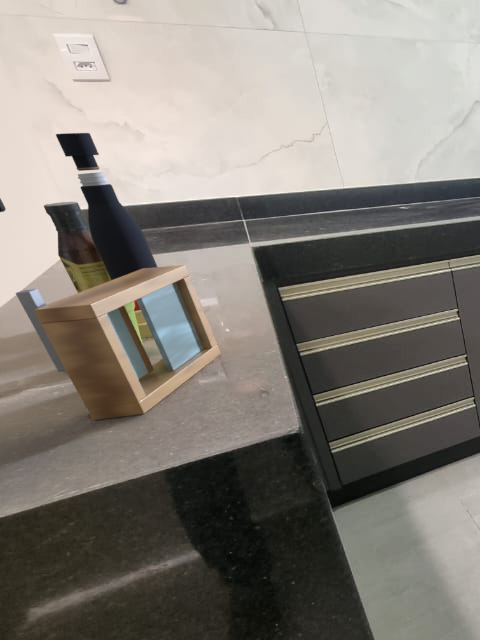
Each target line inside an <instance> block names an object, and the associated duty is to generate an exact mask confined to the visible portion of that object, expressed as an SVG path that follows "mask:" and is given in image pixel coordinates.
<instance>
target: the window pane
mask: <svg viewBox="0 0 480 640" xmlns="http://www.w3.org/2000/svg"><path fill="white" fill-rule="evenodd" d="M15 295H16V297H17V299H18V301H19V302H20V304H21V306H22V308H23V310H24V312H25V314H26V315H27V317H28V319H29V321H30V323H31V324H32V326H33V328H34V330H35V332H36V334H37V335H38V337H39V339H40V341H41V343H42V344H43V346H44V348H45V350H46V352H47V353H48V355H49V357H50V359H51V361H52V363H53V365H54V366H55V368H56V370H57V371H58V372H59V373H62V372H67V371H66V370H65V368H64V366H63V364H62V362H61V360H60V359H59V357H58V355H57V353H56V351H55V349H54V347H53V346H52V344H51V342H50V340H49V338H48V336H47V335H46V333H45V331H44V329H43V327H42V325H41V324H42V323H40V322H39V320H38V318H37V316H36V314H35V312H34V310H35V309H37V308H40V307H43V306H45V305H47V304H46V302H45V300H44V298H43V297H42V294H41V292H40V290H39V288H32V289H31V288H30V289H23V290H20V291H18V292H15ZM107 316H108V318H109V320H110V322H111V324H112V326H113V329H114V331H115V333H116V335H117V337H118V339H119V341H120V343H121V345H122V347H123V349H124V351H125V353H126V355H127V357H128V360H129V362H130V364H131V366H132V368H133V370H134V372H135V374H136V376H137V378H138V380H139V379H140V378H141V377H143V376H144V375H146V374H147V373H151V372H152V371H153V370H154V369H153V367H152V366H153V364H152V362H151V360H150V358H149V356H148V354H147V352H146V349H145V347H144V344H143V345H142V343H143V342H142V343H141V341H140V339H139V337H138V334H137V332H136V330H135V328H134V326H133V324H132V322H131V319H130V317H129V315H128V313H127V311H126V309H125V307H124V306H122V307H120V308H117V309H115V310H113V311H111V312H109V313H107Z"/></svg>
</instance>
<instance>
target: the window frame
mask: <svg viewBox="0 0 480 640" xmlns="http://www.w3.org/2000/svg"><path fill="white" fill-rule="evenodd" d="M135 300H137V303H138V305H139V307H140V309H141V311H142V314H143V316H144V318H145V320H146V322H147V325H148V327H149V329H150V331H151V333H152V336H153V337H152V338H153V340H154V342H155V344H156V346H157V347H156V348H157V349H158V351H159V354H160V356H161V358H162V359H160V360H159V361H157V362H156V363H154V364H152V367H153V369H154V370H153V371H152V372H151V373H147V374H146V375H144V376H143V377H141V378H140V379H139V380H138V378H137V376H136V374H135V372H134V370H133V368H132V366H131V364H130V362H129V360H128V357H127V355H126V353H125V351H124V349H123V347H122V345H121V343H120V341H119V339H118V337H117V335H116V333H115V331H114V329H113V326H112V324H111V322H110V320H109V318H108V316H107V313H109V312H111V311H113V310H115V309H117V308H120V307H122V306H124V305H126V304H128V303H131V302H133V301H135ZM34 312H35V314H36V316H37V318H38V320H39V322H40V323H42V324H41V325H42V327H43V329H44V331H45V333H46V335H47V336H48V338H49V340H50V342H51V344H52V346H53V347H54V349H55V351H56V353H57V355H58V357H59V359H60V360H61V362H62V364H63V366H64V368H65V370H66V371H65V372H66V373H67V375H68V377H69V379H70V381H71V383H72V385H73V386H74V388H75V390H76V392H77V393H78V395H79V397H80V400H81V401H82V403H83V404H84V406H85V409H86V410H87V412H88V414H89V417H90V418H91V419H92V421H98V420H107V419H113V418H114V419H115V418H122V417H131V416H137V415H138V416H139V415H144V414H146V413H147V412H148V411H150V410H151V409H153V408H154V407H155V406H156V405H157V404H159V403H160V402H161V401H162V400H164V399H165V398H166V397H167V396H169V395H170V394H171V393H173V392H174V391H175V390H177V389H178V388H180V386H182V385H183V384H184V383H186V382H187V381H188V380H189V379H191V378H192V377H193V376H195V375H196V374H197V373H198V372H200V371H201V370H202V369H204V368H205V367H206V366H207V365H209V364H210V363H211V362H212V361H214V360H215V359H216V358H218V357H219V356H220V355H221V354H222V352H221V350H220V348H219V347H220V346H218V343H217V340H216V338H215V335H214V332H213V330H212V328H211V325H210V323H209V320H208V318H207V315H206V313H205V310H204V308H203V305H202V303H201V300H200V298H199V296H198V293H197V290H196V288H195V286H194V283H193V281H192V278H191V276H190V273H189V271H188V268H187V266H186V265H185V264H179V265H171V266H170V265H168V266H167V265H166V266H157V267H155V268H143V269H140V270H138V271H135V272H132V273H130V274H127V275H124V276H122V277H119V278H117V279H114V280H111V281H109V282H106V283H103V284H101V285H98V286H95V287H93V288H90V289H87V290H85V291H82V292H80V293H78V292H76V293H75V294H72V295H69V296H67V297H64V298H62V299H61V298H60V299H58V300H56V301H53V302H51V303H49V304H46V305H45V306H43V307H40V308H37V309H35V310H34Z"/></svg>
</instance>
